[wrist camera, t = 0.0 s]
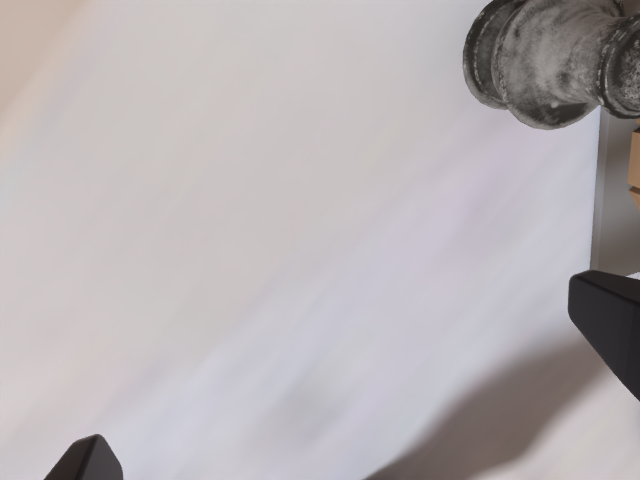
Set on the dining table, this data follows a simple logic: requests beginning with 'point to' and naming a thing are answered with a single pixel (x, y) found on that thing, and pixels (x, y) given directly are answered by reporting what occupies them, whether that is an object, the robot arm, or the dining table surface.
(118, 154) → the dining table surface
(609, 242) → the walnut collar
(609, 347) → the robot arm
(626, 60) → the salt shaker
